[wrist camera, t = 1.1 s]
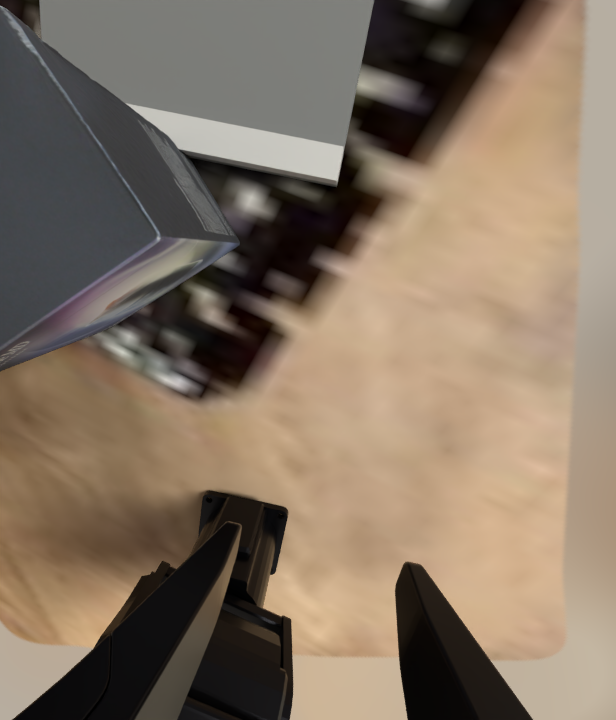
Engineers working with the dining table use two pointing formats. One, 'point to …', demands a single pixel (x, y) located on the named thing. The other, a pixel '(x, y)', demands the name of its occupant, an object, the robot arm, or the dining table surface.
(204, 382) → the dining table surface
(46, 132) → the small box
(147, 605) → the robot arm
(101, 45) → the mat
